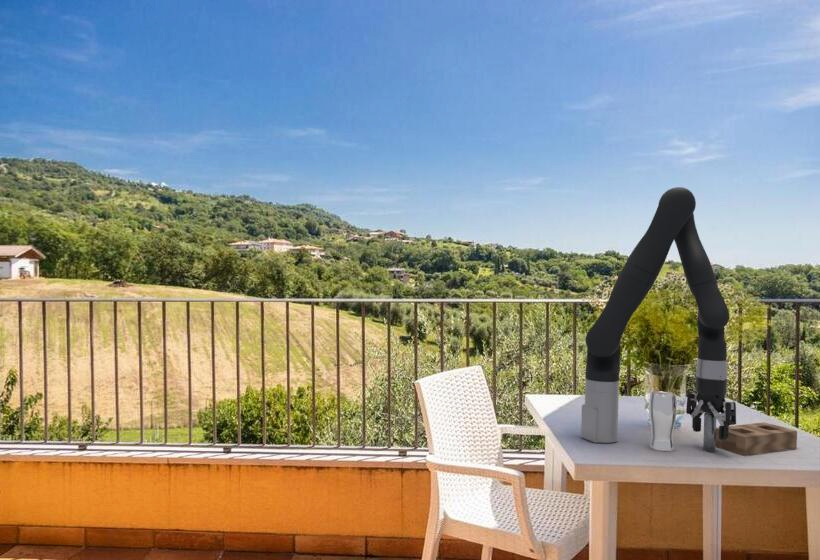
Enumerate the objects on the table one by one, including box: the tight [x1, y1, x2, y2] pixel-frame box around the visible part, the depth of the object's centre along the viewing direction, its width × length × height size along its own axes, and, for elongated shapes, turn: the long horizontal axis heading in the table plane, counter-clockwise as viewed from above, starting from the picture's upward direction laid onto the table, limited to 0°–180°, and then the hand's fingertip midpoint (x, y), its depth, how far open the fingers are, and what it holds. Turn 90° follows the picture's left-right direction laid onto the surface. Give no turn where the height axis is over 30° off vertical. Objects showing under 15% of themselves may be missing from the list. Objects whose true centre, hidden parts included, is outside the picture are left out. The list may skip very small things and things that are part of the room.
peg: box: [702, 412, 717, 453], centre depth 171 cm, size 3×3×10 cm
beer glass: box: [648, 390, 677, 452], centre depth 172 cm, size 7×7×15 cm
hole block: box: [716, 421, 798, 457], centre depth 175 cm, size 20×10×5 cm, turn 113°
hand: (709, 435), depth 171 cm, fingers open, 8 cm apart
